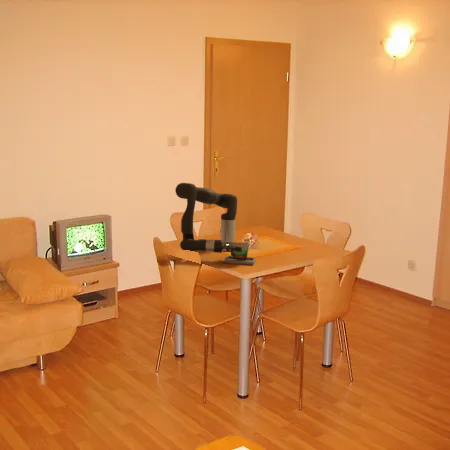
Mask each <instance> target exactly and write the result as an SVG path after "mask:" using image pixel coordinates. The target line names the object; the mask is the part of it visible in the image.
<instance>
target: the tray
mask: <svg viewBox="0 0 450 450" xmlns="http://www.w3.org/2000/svg"><path fill="white" fill-rule="evenodd" d="M256 259H257V258H256V257H251V256H250V257H249V256H247V259H244V260H236V259H232V258H231V255H226V257H225V258H224V261H223V262H224V264H231V265H245V266H246V265H247V266H254V265H255V263H256Z"/></svg>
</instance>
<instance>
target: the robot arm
mask: <svg viewBox="0 0 450 450" xmlns="http://www.w3.org/2000/svg"><path fill="white" fill-rule="evenodd" d="M174 191H175V195H176V196H177V197H178V198H179V199H183V200H186V203H187V204H186V208H185V209H184V213H183V214H182V216H181V221H180V230H181V231H180V232H181V234H182V239H181V241H180V243H179V246H180V249H181V250H183V251H184V250H190V251H189V252H197V251H198V252H200V251H201V252H209V253H217V254H222V253H231V252H234V251H240V252H241V251H242V248H240V247H232V245H229V243H230V241H231V242H233V243H235V242H236V215H237V211H238V197H237V196H236V195H235V194H230V193H223V192H222V193H218V192H217V191H215V190H214V189H211V188H206V187H199V186H198V187H197V186H196V185H195V184H194V183H190V182H189V183H187V182H181V183H178V184H177V186H176V187H175V189H174ZM196 202H198V203H202V204H205V205H216V206H218V207H221V208H223V209H227V210H226V212H224V213H222V214H221V215H220V238H219V239H214V238H213V239H212V238H211V239H205V238H204V239H203V238H199V239H195V237H194V236H195V235H194V215H195V214H194V213H195V207H196Z"/></svg>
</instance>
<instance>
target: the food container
mask: <svg viewBox="0 0 450 450" xmlns="http://www.w3.org/2000/svg"><path fill="white" fill-rule="evenodd" d="M229 245H232V247H240V248H242V251H241V252H240V251H234V252H230V256H231V258H232V259H236V260H244V259H247V257H248V254H249V248H250V247H249V246H251V242H250V241H248V242H244V241H243V242H242V241H238V242H237V241H235V243H233V242H231V241H230V243H229Z"/></svg>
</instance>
